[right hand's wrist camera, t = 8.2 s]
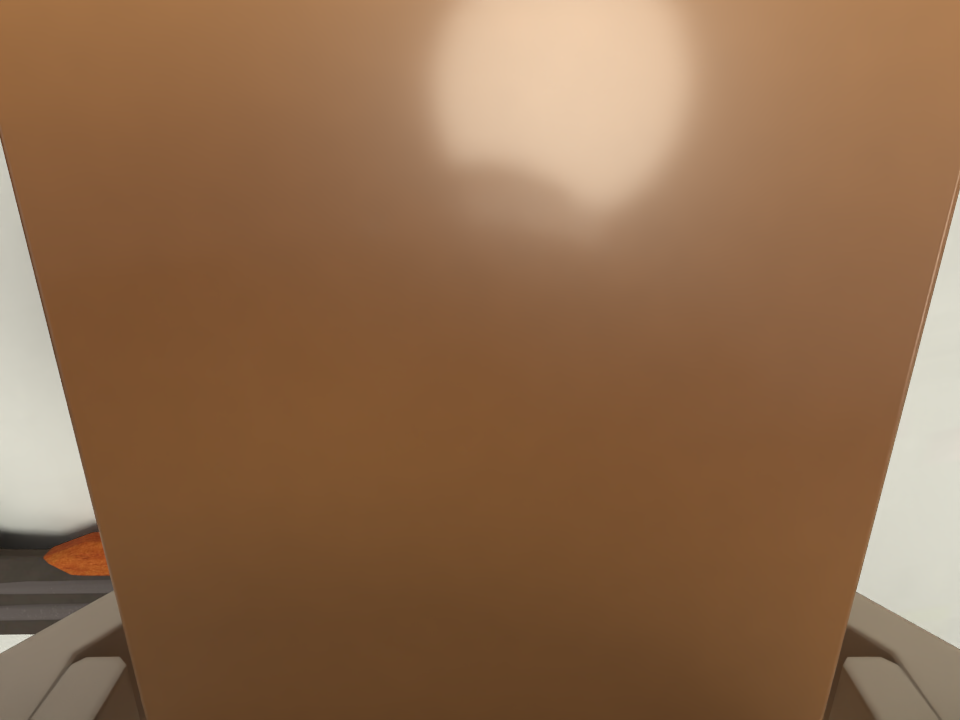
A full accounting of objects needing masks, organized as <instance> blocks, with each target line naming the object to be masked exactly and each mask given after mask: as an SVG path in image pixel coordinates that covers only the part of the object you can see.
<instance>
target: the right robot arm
mask: <svg viewBox="0 0 960 720" xmlns="http://www.w3.org/2000/svg"><path fill="white" fill-rule="evenodd" d="M0 720H146V717H145V713H144V709H143V705H142V701H141V697H140V693H139V689H138V685H137V681H136V677H135V673H134V669H133V665H132V661H131V657H130V653H129V649H128V645H127V641H126V637H125V633H124V629H123V625H122V621H121V617H120V613H119V609H118V605H117V601H116V597H115V593H114V591H112V592H110V593H108V594H106V595H105V596H103V597H101V598H99V599H97V600H96V601H94V602H92V603H90V604H88V605H87V606H85V607H83V608H81V609H79V610H78V611H76V612H74V613H72V614H71V615H69V616H67V617H65V618H63V619H62V620H60V621H58V622H56V623H54V624H53V625H51V626H49V627H47V628H45V629H44V630H42V631H40V632H38V633H36V634H35V635H33V636H31V637H29V638H27V639H26V640H24V641H22V642H20V643H19V644H17V645H15V646H13V647H11V648H10V649H8V650H6V651H4V652H2V653H1V654H0ZM823 720H960V649H958V648H957V647H955V646H953V645H951V644H949V643H948V642H946V641H944V640H942V639H940V638H939V637H937V636H935V635H933V634H931V633H930V632H928V631H926V630H924V629H922V628H921V627H919V626H917V625H915V624H913V623H911V622H910V621H908V620H906V619H904V618H902V617H901V616H899V615H897V614H895V613H893V612H892V611H890V610H888V609H886V608H884V607H883V606H881V605H879V604H877V603H875V602H874V601H872V600H870V599H868V598H866V597H865V596H863V595H861V594H859V593H857V592H856V593H855V597H854V601H853V604H852V608H851V612H850V616H849V620H848V624H847V628H846V632H845V635H844V639H843V643H842V647H841V651H840V655H839V659H838V663H837V666H836V670H835V674H834V678H833V682H832V686H831V690H830V693H829V697H828V701H827V705H826V709H825V713H824V717H823Z"/></svg>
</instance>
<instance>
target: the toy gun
mask: <svg viewBox="0 0 960 720" xmlns="http://www.w3.org/2000/svg"><path fill="white" fill-rule="evenodd" d="M112 591H114V589H113V585H112V581H111V577H110V573H109V569H108V565H107V561H106V557H105V553H104V549H103V545H102V541H101V537H100V533H99V532H93V533H89V534H87V535H84V536H81V537H79V538H76V539H73V540H71V541H68V542H65V543H63V544H60V545H57V546H55V547H53V548H50V549H0V635H6V634H36V633H38V632H40V631H42V630H44V629H45V628H47V627H49V626H51V625H53V624H54V623H56V622H58V621H60V620H62V619H63V618H65V617H67V616H69V615H71V614H72V613H74V612H76V611H78V610H79V609H81V608H83V607H85V606H87V605H88V604H90V603H92V602H94V601H96V600H97V599H99V598H101V597H103V596H105V595H106V594H108V593H110V592H112Z"/></svg>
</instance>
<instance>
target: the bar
mask: <svg viewBox="0 0 960 720" xmlns="http://www.w3.org/2000/svg"><path fill="white" fill-rule="evenodd" d="M0 139H1V143H2V147H3V151H4V155H5V159H6V163H7V167H8V171H9V175H10V179H11V183H12V187H13V191H14V195H15V199H16V203H17V207H18V211H19V214H20V218H21V222H22V226H23V230H24V234H25V238H26V242H27V246H28V250H29V254H30V258H31V262H32V266H33V270H34V274H35V278H36V282H37V286H38V290H39V294H40V298H41V302H42V306H43V310H44V314H45V318H46V322H47V326H48V330H49V334H50V338H51V342H52V346H53V350H54V354H55V358H56V362H57V366H58V370H59V374H60V378H61V382H62V386H63V390H64V394H65V398H66V402H67V406H68V410H69V414H70V418H71V422H72V426H73V430H74V434H75V438H76V442H77V446H78V450H79V454H80V458H81V462H82V466H83V470H84V474H85V478H86V482H87V486H88V490H89V494H90V498H91V502H92V506H93V510H94V514H95V518H96V522H97V526H98V530H99V533H100V537H101V541H102V545H103V549H104V553H105V557H106V561H107V565H108V569H109V573H110V577H111V581H112V585H113V589H114V593H115V597H116V601H117V605H118V609H119V613H120V617H121V621H122V625H123V629H124V633H125V637H126V641H127V645H128V649H129V653H130V657H131V661H132V665H133V669H134V673H135V677H136V681H137V685H138V689H139V693H140V697H141V701H142V705H143V709H144V713H145V717H146V720H823V717H824V713H825V709H826V705H827V701H828V697H829V693H830V690H831V686H832V682H833V678H834V674H835V670H836V666H837V663H838V659H839V655H840V651H841V647H842V643H843V639H844V635H845V632H846V628H847V624H848V620H849V616H850V612H851V608H852V604H853V601H854V597H855V593H856V589H857V585H858V581H859V577H860V573H861V570H862V566H863V562H864V558H865V554H866V550H867V546H868V542H869V539H870V535H871V531H872V527H873V523H874V519H875V515H876V511H877V508H878V504H879V500H880V496H881V492H882V488H883V484H884V481H885V477H886V473H887V469H888V465H889V461H890V457H891V453H892V450H893V446H894V442H895V438H896V434H897V430H898V426H899V422H900V419H901V415H902V411H903V407H904V403H905V399H906V395H907V391H908V388H909V384H910V380H911V376H912V372H913V368H914V364H915V360H916V357H917V353H918V349H919V345H920V341H921V337H922V333H923V329H924V326H925V322H926V318H927V314H928V310H929V306H930V302H931V299H932V295H933V291H934V287H935V283H936V279H937V275H938V271H939V268H940V264H941V260H942V256H943V252H944V248H945V244H946V240H947V237H948V233H949V229H950V225H951V221H952V217H953V213H954V209H955V206H956V202H957V198H958V194H959V190H960V0H0Z"/></svg>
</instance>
